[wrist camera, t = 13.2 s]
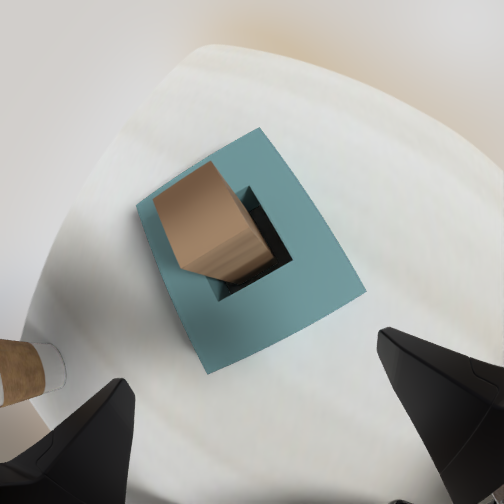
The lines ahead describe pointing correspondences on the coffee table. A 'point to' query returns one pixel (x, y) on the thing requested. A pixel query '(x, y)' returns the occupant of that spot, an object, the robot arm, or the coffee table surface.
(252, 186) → the teal square hole block
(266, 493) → the coffee table surface
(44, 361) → the coffee cup
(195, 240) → the square peg
